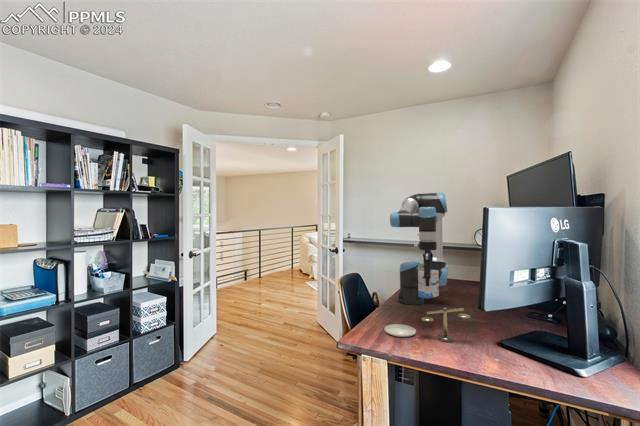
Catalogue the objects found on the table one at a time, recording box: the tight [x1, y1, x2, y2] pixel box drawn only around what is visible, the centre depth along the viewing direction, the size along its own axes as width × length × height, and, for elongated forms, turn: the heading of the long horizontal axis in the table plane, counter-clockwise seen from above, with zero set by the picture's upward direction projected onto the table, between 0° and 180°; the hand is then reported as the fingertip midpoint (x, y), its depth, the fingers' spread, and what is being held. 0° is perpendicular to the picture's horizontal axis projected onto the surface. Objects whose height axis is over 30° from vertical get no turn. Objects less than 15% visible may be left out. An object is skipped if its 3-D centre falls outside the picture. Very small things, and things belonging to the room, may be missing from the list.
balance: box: [421, 306, 471, 343], centre depth 121 cm, size 6×18×13 cm, turn 66°
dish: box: [384, 323, 417, 338], centre depth 129 cm, size 13×13×1 cm
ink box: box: [418, 262, 440, 299], centre depth 136 cm, size 8×5×15 cm, turn 123°
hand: (428, 290), depth 136 cm, fingers closed on ink box, 9 cm apart
